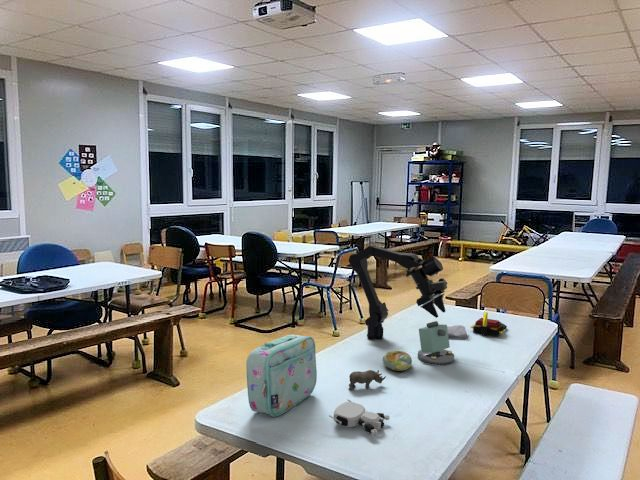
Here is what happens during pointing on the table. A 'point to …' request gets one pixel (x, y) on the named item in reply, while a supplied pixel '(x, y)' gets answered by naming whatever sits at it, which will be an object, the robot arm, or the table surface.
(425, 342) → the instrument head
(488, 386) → the table surface
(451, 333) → the stone block
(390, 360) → the cell model
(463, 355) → the table surface
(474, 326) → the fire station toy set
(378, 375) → the rhino figurine
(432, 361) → the dark grey disc
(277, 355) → the lunch box
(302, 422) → the table surface
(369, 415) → the robot toy
